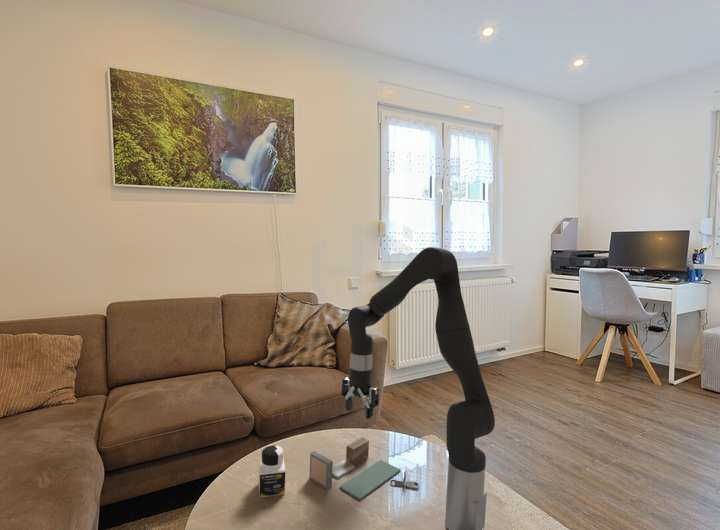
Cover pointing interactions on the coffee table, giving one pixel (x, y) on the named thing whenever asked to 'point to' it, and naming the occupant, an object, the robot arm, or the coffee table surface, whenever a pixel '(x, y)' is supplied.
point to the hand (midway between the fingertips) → (358, 413)
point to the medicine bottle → (272, 472)
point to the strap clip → (408, 484)
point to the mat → (369, 479)
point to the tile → (321, 470)
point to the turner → (352, 457)
